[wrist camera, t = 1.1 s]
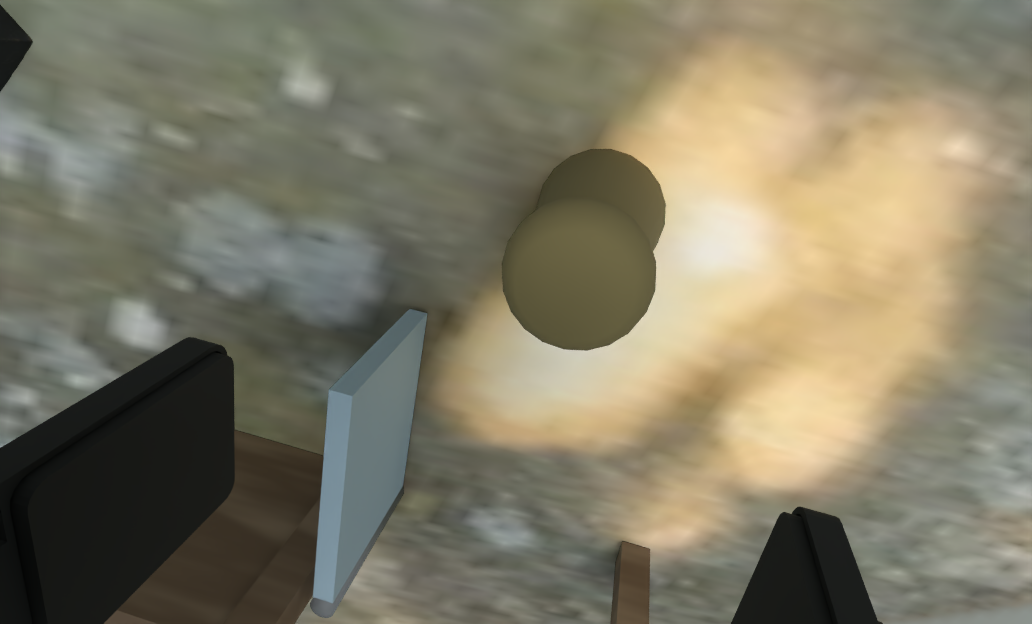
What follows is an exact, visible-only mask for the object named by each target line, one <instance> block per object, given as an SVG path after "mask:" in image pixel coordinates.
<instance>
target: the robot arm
mask: <svg viewBox="0 0 1032 624" xmlns="http://www.w3.org/2000/svg"><path fill="white" fill-rule="evenodd" d="M234 481H235V444H234V364H233V360H232V358H231V357H229V356H227V352H226V350H225V348H224V347H223V346H221V345H218V344H215V343H211V342H207V341H204V340H200V339H197V338H191V337H188V338H186V339H183V340H182V341H180V342H178V343H177V344H175V345H173V346H172V347H170V348H168V349H167V350H165V351H163V352H161V353H160V354H158V355H156V356H155V357H153V358H151V359H150V360H148V361H146V362H145V363H143V364H141V365H140V366H138V367H136V368H134V369H133V370H131V371H129V372H128V373H126V374H124V375H123V376H121V377H119V378H118V379H116V380H114V381H113V382H111V383H109V384H107V385H106V386H104V387H102V388H101V389H99V390H97V391H96V392H94V393H92V394H91V395H89V396H87V397H86V398H84V399H82V400H80V401H79V402H77V403H75V404H74V405H72V406H70V407H69V408H67V409H65V410H64V411H62V412H60V413H59V414H57V415H55V416H54V417H52V418H50V419H48V420H47V421H45V422H43V423H42V424H40V425H38V426H37V427H35V428H33V429H32V430H30V431H28V432H27V433H25V434H23V435H21V436H20V437H18V438H16V439H15V440H13V441H11V442H10V443H8V444H6V445H5V446H3V447H1V448H0V624H104V623H105V622H106V621H107V620H108V619H109V618H110V617H111V616H112V615H113V614H114V613H115V612H116V611H117V610H118V609H119V608H120V606H121V605H122V604H123V603H124V602H125V601H126V600H127V599H128V598H129V597H130V596H131V595H132V594H133V593H134V592H135V591H136V590H137V589H138V588H139V587H140V586H141V585H142V584H143V583H144V582H145V581H146V580H147V579H148V578H149V577H150V576H151V575H152V574H153V573H154V572H155V571H156V570H157V569H158V568H159V567H160V566H161V565H162V564H163V563H164V562H165V561H166V560H167V559H168V558H169V557H170V556H171V555H172V554H173V553H174V552H175V551H176V550H177V549H178V548H179V547H180V546H181V545H182V544H183V543H184V542H185V541H186V540H187V539H188V538H189V537H190V536H191V535H192V534H193V533H194V532H195V531H196V530H197V529H198V528H199V527H200V526H201V524H202V523H203V522H204V521H205V520H206V519H207V518H208V517H209V516H210V515H211V514H212V513H213V512H214V511H215V510H216V509H217V508H218V507H219V506H220V505H221V504H222V503H223V502H224V501H225V500H226V499H227V498H228V496H229V494H230V493H231V491H232V488H233V485H234ZM731 624H883V623H882V622H879V621H878V620H877V618H876V615H875V612H874V609H873V607H872V604H871V601H870V599H869V596H868V593H867V590H866V588H865V585H864V582H863V580H862V577H861V574H860V571H859V569H858V566H857V563H856V561H855V558H854V555H853V552H852V550H851V547H850V544H849V542H848V539H847V536H846V533H845V531H844V528H843V525H842V523H841V521H840V519H839V518H837V517H836V516H832V515H828V514H825V513H821V512H818V511H814V510H811V509H807V508H803V507H797V508H796V509H795V510H794V511H793V513H792V514H790V513H786V512H783V513H781V514H780V516H779V517H778V519H777V521H776V524H775V526H774V528H773V530H772V533H771V535H770V537H769V539H768V542H767V544H766V546H765V548H764V551H763V553H762V555H761V557H760V560H759V562H758V564H757V566H756V569H755V571H754V573H753V575H752V578H751V580H750V582H749V584H748V587H747V589H746V591H745V593H744V596H743V598H742V600H741V602H740V604H739V607H738V609H737V611H736V613H735V616H734V618H733V620H732V622H731Z"/></svg>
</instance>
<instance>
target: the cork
mask: <svg viewBox="0 0 1032 624" xmlns="http://www.w3.org/2000/svg"><path fill="white" fill-rule="evenodd" d="M665 206H666V204H665V201H664V197H663V194H662V190H661V187H660V184H659V183H658V181H657V180H656V178H655V177H654V176H653V174H652V173H651V171H650V170H649V168H648V167H646V166H645V165H644V164H642V163H641V162H639V161H638V160H637V159H635V158H634V157H633V156H631V155H628V154H625V153H622V152H619V151H615V150H612V149H590V150H587V151H584V152H581V153H579V154H576V155H573V156H570V157H569V158H568V159H566V160H565V161H564V162H562V163H561V164H560V165H559V166H557V167H556V168H555V169H554V170H553V171H552V173H551V174H550V176H549V177H548V179H547V180H546V182H545V183H544V184H543V187H542V190H541V194H540V197H539V201H538V204H537V209H536V211H534V212H533V213H532V214H530V215H529V216H528V217H526V218H525V219H524V220H523V221H522V222H521V224H520V225H519V226H518V228H517V229H516V231H515V232H514V234H513V235H512V237H511V238H510V239H509V241H508V243H507V247H506V250H505V254H504V258H503V261H502V279H503V292H504V295H505V297H506V300H507V303H508V305H509V308H510V310H511V312H512V314H513V315H514V316H515V317H516V319H517V320H518V321H519V322H520V324H521V325H522V326H523V328H524V329H525V330H527V331H528V332H530V333H531V334H532V335H534V336H535V337H537V338H538V339H539V340H541V341H542V342H545V343H547V344H550V345H553V346H556V347H559V348H562V349H568V350H591V349H595V348H599V347H603V346H607V345H610V344H611V343H613V342H615V341H616V340H618V339H620V338H621V337H623V336H625V335H626V334H628V333H629V332H630V331H631V330H632V329H633V327H634V326H635V325H636V324H637V323H638V322H639V320H640V319H641V318H642V317H643V316H644V315H645V313H646V312H647V310H648V307H649V305H650V302H651V300H652V297H653V295H654V292H655V280H656V261H655V258H654V254H653V250H654V248H655V247H656V245H657V243H658V240H659V238H660V235H661V233H662V230H663V227H664V225H665Z"/></svg>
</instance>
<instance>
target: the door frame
mask: <svg viewBox="0 0 1032 624" xmlns="http://www.w3.org/2000/svg"><path fill="white" fill-rule="evenodd" d="M234 444H235V481H234V485H233V488H232V491H231V493H230V494H229V496H228V498H227V499H226V500H225V501H224V502H223V503H222V504H221V505H220V506H219V507H218V508H217V509H216V510H215V511H214V512H213V513H212V514H211V515H210V516H209V517H208V518H207V519H206V520H205V521H204V522H203V523H202V524H201V526H200V527H199V528H198V529H197V530H196V531H195V532H194V533H193V534H192V535H191V536H190V537H189V538H188V539H187V540H186V541H185V542H184V543H183V544H182V545H181V546H180V547H179V548H178V549H177V550H176V551H175V552H174V553H173V554H172V555H171V556H170V557H169V558H168V559H167V560H166V561H165V562H164V563H163V564H162V565H161V566H160V567H159V568H158V569H157V570H156V571H155V572H154V573H153V574H152V575H151V576H150V577H149V578H148V579H147V580H146V581H145V582H144V583H143V584H142V585H141V586H140V587H139V588H138V589H137V590H136V591H135V592H134V593H133V594H132V595H131V596H130V597H129V598H128V599H127V600H126V601H125V602H124V603H123V604H122V605H121V606H120V608H119V609H118V610H117V611H116V612H115V613H114V614H113V615H112V616H111V617H110V618H109V619H108V620H107V621H106V622H105V623H104V624H295V622H296V621H297V619H298V617H299V616H300V614H301V613H302V611H303V610H304V608H305V607H306V605H307V603H308V602H309V600H310V599H311V597H312V596H313V589H314V576H315V563H316V550H317V537H318V524H319V511H320V498H321V486H322V473H323V460H324V456H322V455H318V454H315V453H311V452H308V451H305V450H301V449H298V448H294V447H291V446H288V445H284V444H281V443H277V442H274V441H271V440H267V439H264V438H261V437H257V436H254V435H250V434H247V433H244V432H240V431H237V430H234ZM649 580H650V549H647V548H644V547H641V546H637V545H634V544H630V543H627V542H624V541H622V544H621V547H620V550H619V553H618V556H617V559H616V564H615V576H614V588H613V600H612V612H611V624H649Z"/></svg>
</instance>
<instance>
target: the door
mask: <svg viewBox="0 0 1032 624" xmlns="http://www.w3.org/2000/svg"><path fill="white" fill-rule="evenodd" d="M426 320H427V313H424V312H420V311H416V310H413V309H409V310H408V311H407V312H406V313H405V314H404V315H403V316H402V317H401V318H400V319H399V320H398V321H397V322H396V323H395V324H394V325H393V326H392V327H391V328H390V329H389V330H388V331H387V332H386V333H385V334H384V335H383V336H382V337H381V338H380V339H379V340H378V341H377V342H376V343H375V344H374V345H373V346H372V347H371V348H370V349H369V350H368V351H367V352H366V353H365V354H364V355H363V356H362V357H361V358H360V359H359V360H358V361H357V362H356V363H355V364H354V365H353V366H352V367H351V368H350V369H349V370H348V371H347V372H346V373H345V374H344V375H343V376H342V377H341V378H340V379H339V380H338V381H337V382H336V383H335V384H334V385H333V386H332V387H331V388H330V389H329V395H328V408H327V421H326V434H325V447H324V460H323V473H322V486H321V498H320V511H319V524H318V537H317V550H316V563H315V576H314V589H313V597H314V598H313V599H312V601H311V603H310V606H311V609H312V611H313V612H314V613H315V614H316V615H318V616H320V617H324V618H328V617H331V616H332V615H333V614H334V612H335V610H336V609H337V607H338V605H339V603H340V602H341V600H342V598H343V597H344V595H345V593H346V591H347V590H348V588H349V586H350V585H351V583H352V581H353V579H354V578H355V576H356V574H357V573H358V571H359V569H360V567H361V566H362V564H363V562H364V561H365V559H366V557H367V556H368V554H369V552H370V550H371V549H372V547H373V545H374V544H375V542H376V540H377V538H378V537H379V535H380V533H381V532H382V530H383V528H384V526H385V525H386V523H387V521H388V520H389V518H390V516H391V514H392V513H393V511H394V509H395V508H396V506H397V504H398V502H399V501H400V499H401V497H402V496H403V493H404V490H403V482H404V475H405V468H406V461H407V454H408V447H409V440H410V433H411V426H412V419H413V412H414V405H415V398H416V391H417V384H418V377H419V370H420V363H421V356H422V348H423V341H424V334H425V327H426Z"/></svg>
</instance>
